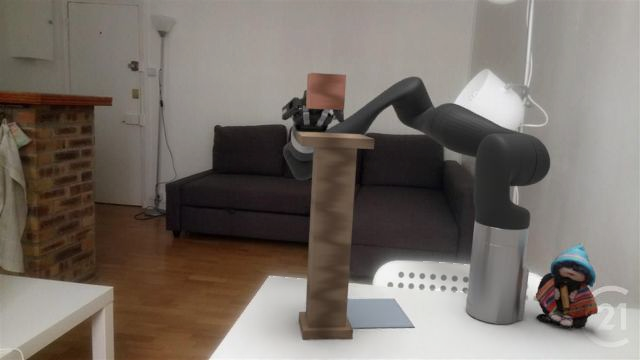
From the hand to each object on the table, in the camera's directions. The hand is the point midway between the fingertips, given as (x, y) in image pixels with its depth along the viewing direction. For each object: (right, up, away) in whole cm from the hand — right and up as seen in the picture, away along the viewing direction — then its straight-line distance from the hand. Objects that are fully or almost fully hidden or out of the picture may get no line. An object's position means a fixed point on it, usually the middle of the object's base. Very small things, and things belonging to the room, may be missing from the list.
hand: (319, 92), depth 96 cm
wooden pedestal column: (+1, -41, -12) cm, 43 cm away
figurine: (+43, -43, -7) cm, 62 cm away
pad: (+10, -41, -6) cm, 43 cm away
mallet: (0, -3, -2) cm, 4 cm away
